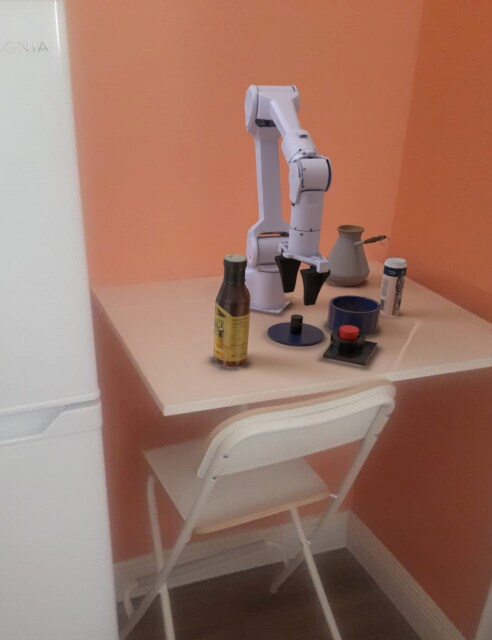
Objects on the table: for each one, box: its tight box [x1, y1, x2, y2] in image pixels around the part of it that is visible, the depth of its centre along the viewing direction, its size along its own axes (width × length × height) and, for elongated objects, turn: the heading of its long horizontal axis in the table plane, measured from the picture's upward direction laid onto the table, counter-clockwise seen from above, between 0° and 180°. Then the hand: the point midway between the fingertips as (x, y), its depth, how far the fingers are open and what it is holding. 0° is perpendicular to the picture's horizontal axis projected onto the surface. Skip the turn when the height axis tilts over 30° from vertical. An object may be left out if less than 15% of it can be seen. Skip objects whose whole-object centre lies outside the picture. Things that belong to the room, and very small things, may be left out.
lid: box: [267, 313, 325, 347], centre depth 139 cm, size 11×11×4 cm
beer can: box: [378, 256, 408, 317], centre depth 150 cm, size 5×5×12 cm
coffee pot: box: [325, 224, 391, 287], centre depth 164 cm, size 21×12×15 cm, turn 19°
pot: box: [326, 294, 381, 336], centre depth 144 cm, size 10×10×5 cm
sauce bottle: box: [213, 253, 251, 368], centre depth 124 cm, size 7×6×20 cm
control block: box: [322, 329, 379, 367], centre depth 133 cm, size 10×8×3 cm
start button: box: [339, 325, 359, 340], centre depth 134 cm, size 4×4×2 cm
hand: (298, 298), depth 136 cm, fingers open, 7 cm apart
